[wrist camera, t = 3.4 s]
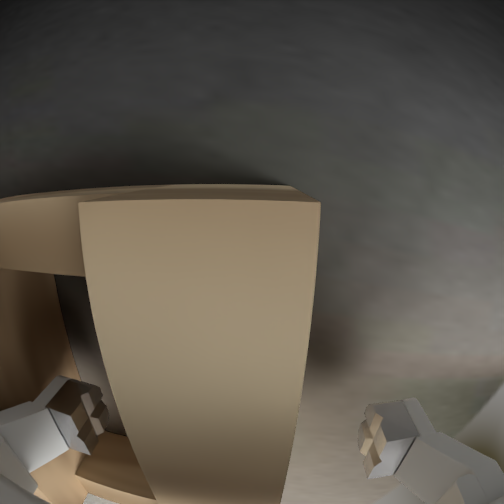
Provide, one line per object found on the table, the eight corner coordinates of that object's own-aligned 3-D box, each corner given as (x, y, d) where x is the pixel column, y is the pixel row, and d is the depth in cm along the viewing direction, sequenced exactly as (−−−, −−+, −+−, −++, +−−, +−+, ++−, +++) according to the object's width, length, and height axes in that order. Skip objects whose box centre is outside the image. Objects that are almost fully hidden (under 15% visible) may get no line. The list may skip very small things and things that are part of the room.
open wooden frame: (16, 195, 8) (-95, 223, 3) (289, 185, 8) (330, 207, 3) (83, 441, 11) (44, 509, 6) (268, 473, 11) (265, 566, 6)
